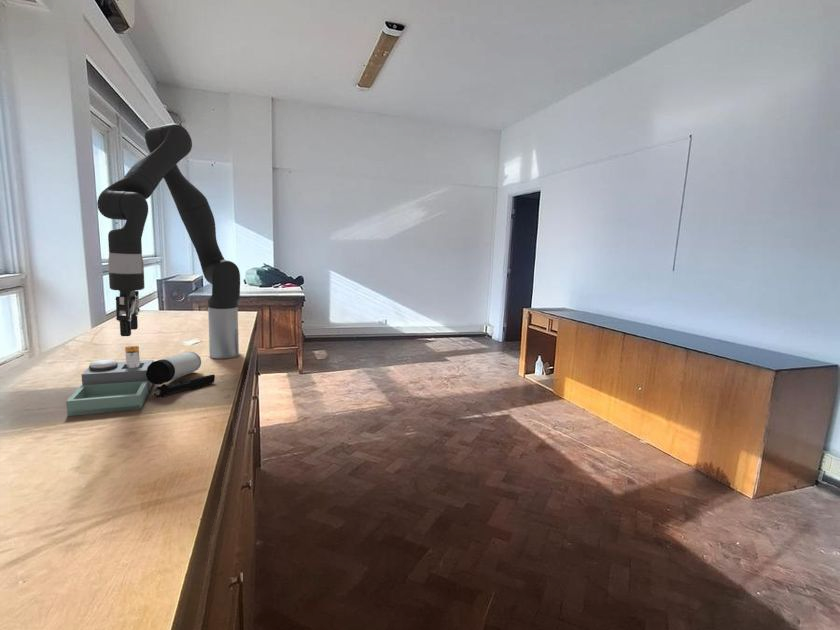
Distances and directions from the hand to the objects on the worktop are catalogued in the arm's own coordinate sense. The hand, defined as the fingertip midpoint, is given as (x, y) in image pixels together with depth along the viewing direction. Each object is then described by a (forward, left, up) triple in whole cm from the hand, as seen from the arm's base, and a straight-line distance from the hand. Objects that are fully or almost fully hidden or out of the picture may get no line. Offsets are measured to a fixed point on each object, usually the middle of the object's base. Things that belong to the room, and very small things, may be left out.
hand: (129, 332), depth 113 cm
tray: (+3, +12, -15) cm, 19 cm away
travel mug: (-13, -11, -12) cm, 21 cm away
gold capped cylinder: (0, 0, -15) cm, 15 cm away
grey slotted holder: (+3, 0, -15) cm, 15 cm away
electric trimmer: (-13, +5, -16) cm, 21 cm away
